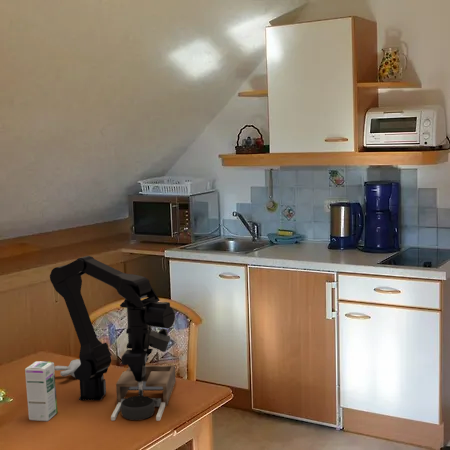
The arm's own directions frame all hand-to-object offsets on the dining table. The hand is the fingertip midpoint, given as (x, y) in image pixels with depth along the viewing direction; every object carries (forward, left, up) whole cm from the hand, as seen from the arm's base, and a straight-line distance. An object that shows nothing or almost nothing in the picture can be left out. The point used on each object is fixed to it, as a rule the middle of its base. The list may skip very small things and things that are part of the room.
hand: (140, 379), depth 188 cm
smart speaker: (0, -5, -8) cm, 10 cm away
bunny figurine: (-23, +24, -8) cm, 35 cm away
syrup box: (-25, -7, -8) cm, 28 cm away
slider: (0, 0, -8) cm, 8 cm away
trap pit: (0, +16, -8) cm, 18 cm away
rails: (0, -4, -8) cm, 9 cm away
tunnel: (0, +10, -8) cm, 13 cm away
